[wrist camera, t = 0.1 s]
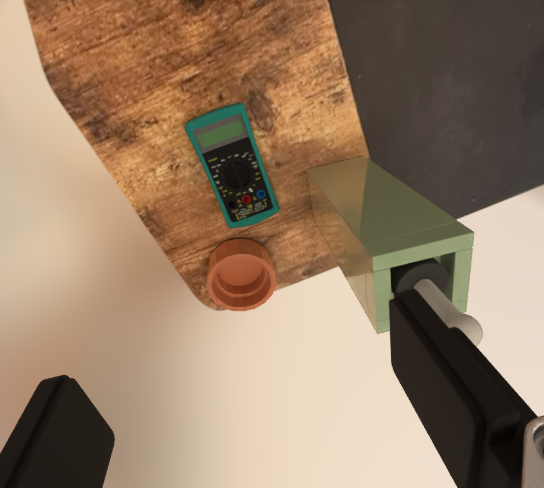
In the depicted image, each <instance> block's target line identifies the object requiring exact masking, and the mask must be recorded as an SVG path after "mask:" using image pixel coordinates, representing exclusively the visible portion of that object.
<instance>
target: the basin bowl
mask: <svg viewBox="0 0 544 488" xmlns="http://www.w3.org/2000/svg"><path fill="white" fill-rule="evenodd" d="M206 283H207V290H208V293H209V295H210V296H211V298H212V300H213V301H214V302H216V303H217V304H218V305H220V306H221V307H223V308H226V309H229V310H232V311H247V310H251V309H255V308H257V307H258V306H260V305H262V304H264V303H265V302H266V301H267V300H268V299H269V298H270V297H271V295H272V294H273V291H274V289H275V286H276V275H275V271H274V267H273V263H272V259H271V257H270V255H269V253H268V251H267V250H266V249H265V248H264V247H263V246H262V245H261V244H259V243H257V242H254V241H252V240H249V239H234V240H230V241H226V242H225V243H223V244H221V245H220V246H218V247H217V248H216V249H215V250H214V252H213V253H212V254H211V255H210V258H209V261H208V265H207V281H206Z"/></svg>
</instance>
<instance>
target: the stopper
mask: <svg viewBox="0 0 544 488" xmlns="http://www.w3.org/2000/svg"><path fill="white" fill-rule="evenodd" d="M390 274H391V291H392V292H393V294H395V293H398V292H402V291H406V290H410V289H416V290H417V291H418V292H419V293H420V294H421V295H422V297H423V298H424V299H425V300H426V301H427V303H428V304H429V305H430V306H431V307H432V309H433V310H434V311H435V312H436V313H437V315H438V316H439V317H440V318H441V319H442V320H443V322H444V323H445V324H446V325H447V326H448V328H451V327H457V328H459V329H460V330H462V331H463V332H464V333H465V334H466V336H467V337H468V338H469V339H470V340H471V341H472V342H473V344H474V345H475V346H478V344H479V343H480V342H481V340H482V337H483V331H482V328H481V325H480V324H479V322H478V321H477V320H476V319H475V318H473V317H472V316H469V315H467V314H462V313H461V312H460V311H459V310H458V309H457V308H456V307H455V306H454V305H453V304H452V302H451V301H450V300H449V299H448V298H447V297H446V296H445V295H444V294H443V293H444V291H445V290H446V288H447V285H448V273H447V271H446V269H445V268H444V267H443V266H442V265H441V264H439V263H438V262H437V261H436V260H435V259H434V258H433V257H432V258H428V259H424V260H420V261H416V262H412V263H408V264H404V265H400V266H396V267H392V268H390Z"/></svg>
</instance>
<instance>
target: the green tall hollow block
mask: <svg viewBox="0 0 544 488" xmlns="http://www.w3.org/2000/svg"><path fill="white" fill-rule="evenodd" d="M306 173H307V179H308V185H309V192H310V198H311V205H312V211H313V217H314V223H315V224H316V226H317V228H318V230H319V231H320V233H321V235H322V237H323V238H324V240H325V242H326V244H327V246H328V247H329V249H330V251H331V253H332V254H333V256H334V258H335V260H336V261H337V263H338V265H339V267H340V269H341V270H342V272H343V274H344V276H345V277H346V279H347V281H348V283H349V284H350V286H351V288H352V290H353V292H354V293H355V295H356V297H357V299H358V300H359V302H360V304H361V306H362V308H363V309H364V311H365V313H366V315H367V316H368V318H369V320H370V322H371V324H372V325H373V327H374V329H375V330H376V333H377V334H379V333H383V332H387V331H390V320H389V300H390V299H394V294H393V292H392V291H391V274H390V268H392V267H396V266H400V265H404V264H408V263H412V262H416V261H420V260H424V259H428V258H432V257H433V258H434V259H435V260H436V261H437V262H438V263H439V264H441V265H442V266H443V267H444V268H445V269H446V271H447V273H448V285H447V288H446V290H445V291H444V293H443V294H444V295H445V296H446V297H447V298H448V299H449V300H450V301H451V302H452V304H453V305H454V306H455V307H456V308H457V309H458V310H459V311H460V312H461V313H464V312H466V309H467V298H468V289H469V280H470V270H471V259H472V250H473V248H472V247H473V240H474V232H473V231H472V230H470V229H469V228H467V227H466V226H464V225H463V224H461V223H460V222H458V221H457V220H456V219H454V218H453V217H451V216H450V215H449V214H447V213H446V212H444V211H443V210H441V209H440V208H439V207H437V206H436V205H434V204H433V203H431V202H430V201H428V200H427V199H426V198H424V197H423V196H421V195H420V194H418V193H417V192H416V191H414V190H413V189H411V188H410V187H408V186H407V185H405V184H404V183H403V182H401V181H400V180H398V179H397V178H395V177H394V176H393V175H391V174H390V173H388V172H387V171H385V170H384V169H382V168H381V167H380V166H378V165H377V164H375V163H374V162H372V161H371V160H370V159H368V158H367V157H365V156H360V157H356V158H352V159H348V160H344V161H340V162H335V163H331V164H327V165H323V166H319V167H315V168H310V169H306Z"/></svg>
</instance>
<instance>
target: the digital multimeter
mask: <svg viewBox="0 0 544 488" xmlns="http://www.w3.org/2000/svg"><path fill="white" fill-rule="evenodd" d="M185 131H186V133H187V135H188V137H189V139H190V141H191V143H192V145H193V147H194V149H195V151H196V153H197V155H198V157H199V159H200V161H201V163H202V165H203V168H204V170H205V172H206V174H207V176H208V179H209V181H210V183H211V185H212V188H213V190H214V192H215V195H216V197H217V200H218V202H219V205H220V207H221V210H222V212H223V215H224V218H225V220H226V223H227V226H228V227H229V228H239V227H245V226H250V225H254V224H256V223H259V222H262V221H263V220H265V219H267V218H269V217H271V216H272V215H274V214H276V213H277V212H279V210H280V208H279V205H278V202H277V200H276V197H275V195H274V192H273V190H272V188H271V185H270V182H269V180H268V177H267V174H266V172H265V169H264V166H263V163H262V160H261V157H260V154H259V151H258V148H257V145H256V142H255V139H254V136H253V132H252V129H251V126H250V122H249V119H248V116H247V112H246V109H245V106H244V104H243V103H235V104H232V105H228V106H225V107H221V108H218V109H215V110H213V111H210V112H207V113H205V114H203V115H201V116H198V117H196V118H194V119H192V120H190V121H188V122H187V123H186V125H185Z"/></svg>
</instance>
